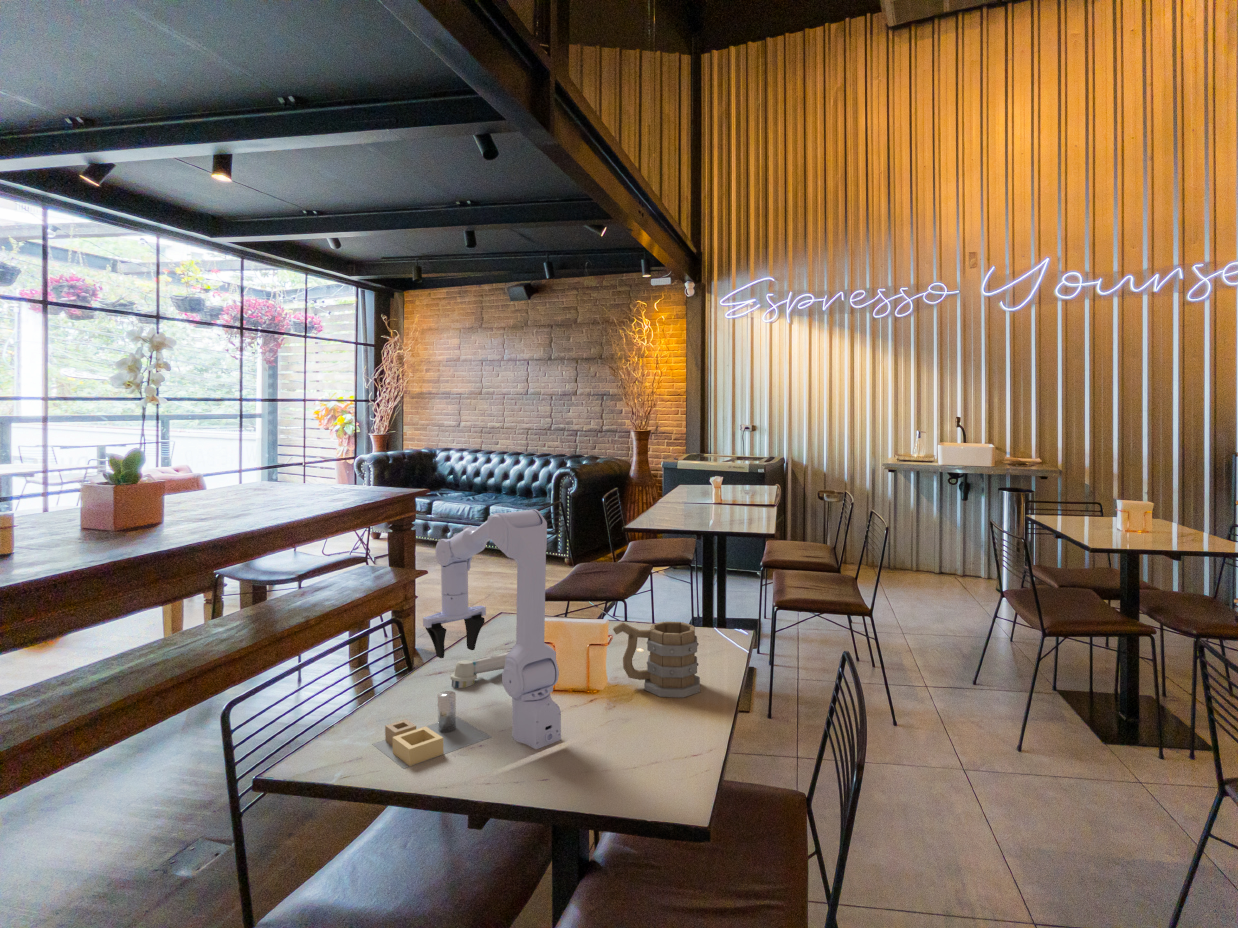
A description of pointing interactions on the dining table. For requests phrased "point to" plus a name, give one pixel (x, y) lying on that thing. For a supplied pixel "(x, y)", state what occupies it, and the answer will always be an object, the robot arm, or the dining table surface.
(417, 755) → the fitting board
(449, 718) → the metal round peg
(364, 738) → the dining table surface
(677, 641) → the tankard
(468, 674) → the toothbrush head
